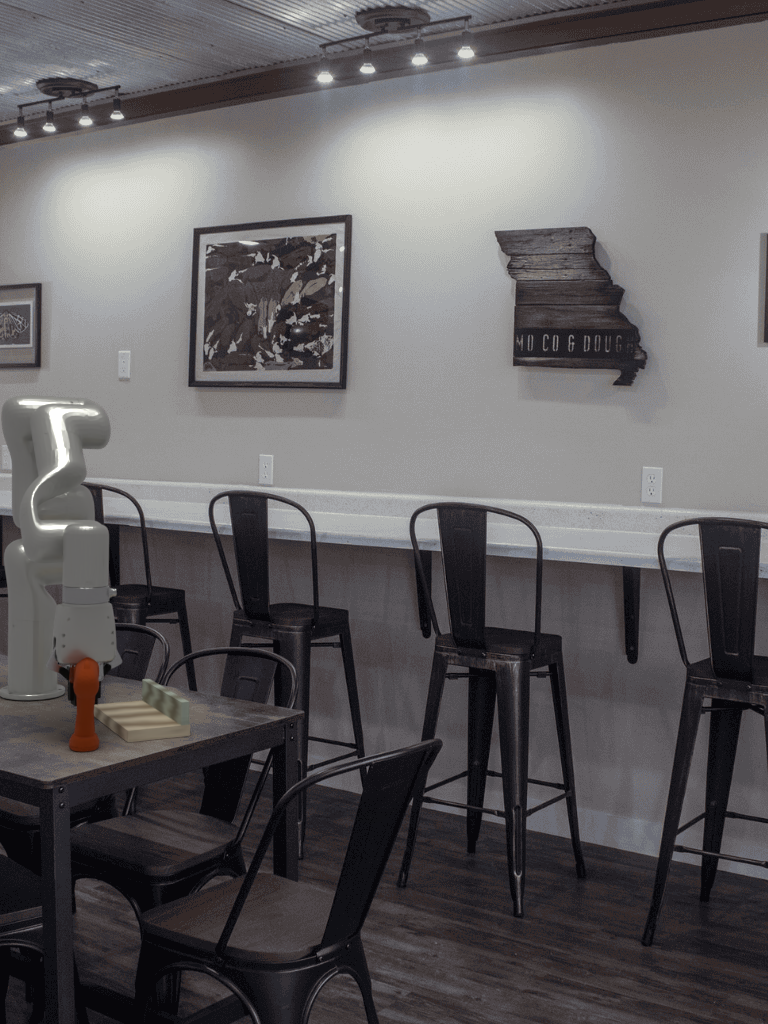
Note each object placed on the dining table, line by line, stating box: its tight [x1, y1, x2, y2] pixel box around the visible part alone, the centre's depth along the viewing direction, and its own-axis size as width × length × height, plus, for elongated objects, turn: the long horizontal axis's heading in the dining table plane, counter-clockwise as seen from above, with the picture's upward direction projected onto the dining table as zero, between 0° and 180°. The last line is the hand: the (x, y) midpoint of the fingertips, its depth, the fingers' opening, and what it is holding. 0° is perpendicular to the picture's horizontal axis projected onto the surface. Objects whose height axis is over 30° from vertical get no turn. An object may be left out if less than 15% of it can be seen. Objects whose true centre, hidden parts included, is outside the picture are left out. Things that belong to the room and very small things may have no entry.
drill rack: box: [94, 678, 191, 743], centre depth 197 cm, size 22×11×6 cm, turn 30°
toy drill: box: [68, 657, 100, 753], centre depth 186 cm, size 5×19×15 cm, turn 15°
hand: (84, 702), depth 187 cm, fingers closed on toy drill, 2 cm apart
